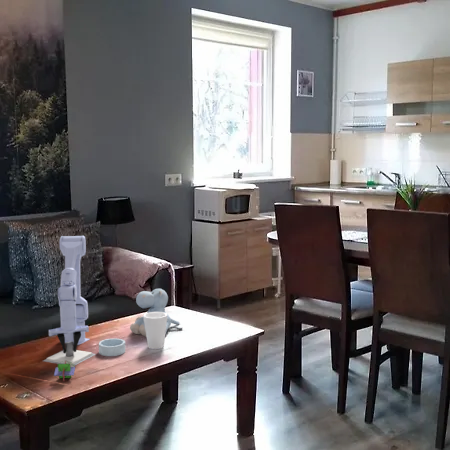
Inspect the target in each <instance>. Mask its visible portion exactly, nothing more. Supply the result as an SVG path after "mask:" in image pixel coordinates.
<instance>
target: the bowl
mask: <svg viewBox="0 0 450 450" xmlns="http://www.w3.org/2000/svg"><path fill="white" fill-rule="evenodd" d="M125 353H126V340H124V339H122V338H118V337H117V338H116V337H115V338H106V339H103V340H100V341H99V343H98V354H99V355H101V356H103V357H104V356H105V357H116V356H120V355H123V354H125Z"/></svg>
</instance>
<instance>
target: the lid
mask: <svg viewBox="0 0 450 450" xmlns="http://www.w3.org/2000/svg"><path fill="white" fill-rule="evenodd" d="M65 350H66V353H63V350H60V351H59V352H57V353H54V354H53V355H50V356H48V357H46V359H47V361H53V362H59V363H64V364H65V360H67V361H69V362H72V363H73V365H74V364H76V363H77V362H79V361H81V360H83V359H85V358H87V357H89V356H91V355H92V354H93V352H90V351H84V350H80V349H79V350H78V349H76V352H74V344H73V342H72V341H69V342H66V343H65Z"/></svg>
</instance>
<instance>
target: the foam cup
mask: <svg viewBox="0 0 450 450" xmlns="http://www.w3.org/2000/svg"><path fill="white" fill-rule="evenodd" d="M166 313H167V312H166ZM166 313H164V312H149V313H147V312H146V313H144V314H143V315H142V316H143V317H144V324H145V330H146V337H145V338H146V342H147V347H148V349H151V350H158V349H163V348H164V347H165V339H166V334H165V332H166V324H167V314H168V313H167V314H166ZM166 333H167V332H166Z"/></svg>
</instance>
